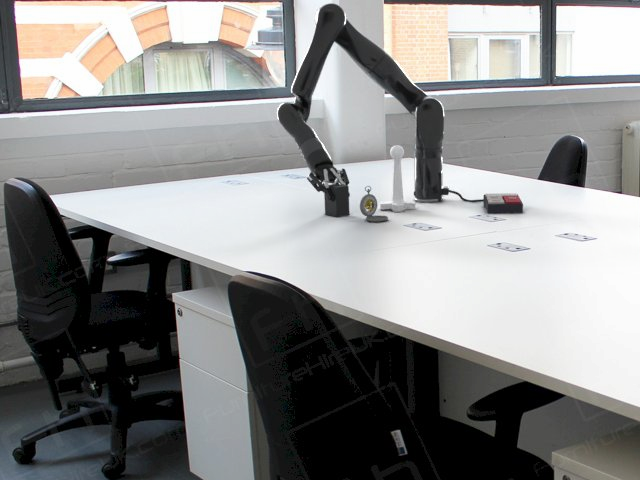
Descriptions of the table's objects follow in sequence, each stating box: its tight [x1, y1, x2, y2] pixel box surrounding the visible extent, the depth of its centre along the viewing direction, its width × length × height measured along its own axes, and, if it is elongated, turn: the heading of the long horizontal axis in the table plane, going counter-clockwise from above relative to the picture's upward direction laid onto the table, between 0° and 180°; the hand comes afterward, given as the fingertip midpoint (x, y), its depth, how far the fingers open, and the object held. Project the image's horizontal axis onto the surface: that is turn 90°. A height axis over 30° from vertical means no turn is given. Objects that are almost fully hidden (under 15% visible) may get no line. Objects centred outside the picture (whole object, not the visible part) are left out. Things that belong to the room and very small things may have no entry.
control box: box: [482, 192, 524, 215], centre depth 331 cm, size 11×4×15 cm
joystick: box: [379, 144, 417, 213], centre depth 330 cm, size 11×8×20 cm
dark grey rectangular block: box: [323, 183, 350, 218], centre depth 326 cm, size 6×5×9 cm
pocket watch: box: [359, 185, 389, 223], centre depth 316 cm, size 8×8×10 cm
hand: (340, 198), depth 324 cm, fingers closed on dark grey rectangular block, 5 cm apart
